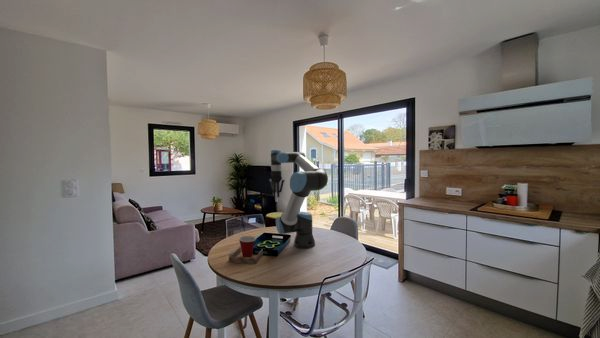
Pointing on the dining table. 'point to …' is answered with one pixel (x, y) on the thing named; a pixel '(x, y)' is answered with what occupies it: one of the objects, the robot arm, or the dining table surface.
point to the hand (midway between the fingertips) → (276, 201)
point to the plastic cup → (247, 245)
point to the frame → (244, 259)
